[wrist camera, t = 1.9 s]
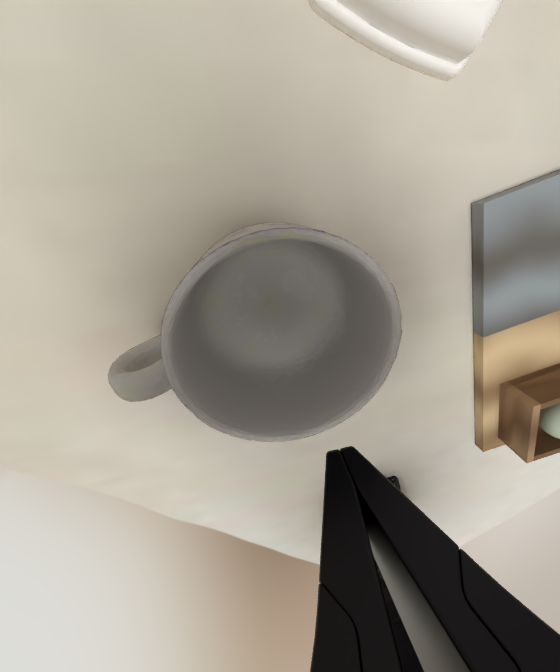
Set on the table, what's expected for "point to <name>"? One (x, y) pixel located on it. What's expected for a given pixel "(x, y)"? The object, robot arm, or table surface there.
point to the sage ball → (550, 420)
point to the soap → (414, 29)
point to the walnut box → (529, 413)
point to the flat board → (514, 292)
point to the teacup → (271, 335)
